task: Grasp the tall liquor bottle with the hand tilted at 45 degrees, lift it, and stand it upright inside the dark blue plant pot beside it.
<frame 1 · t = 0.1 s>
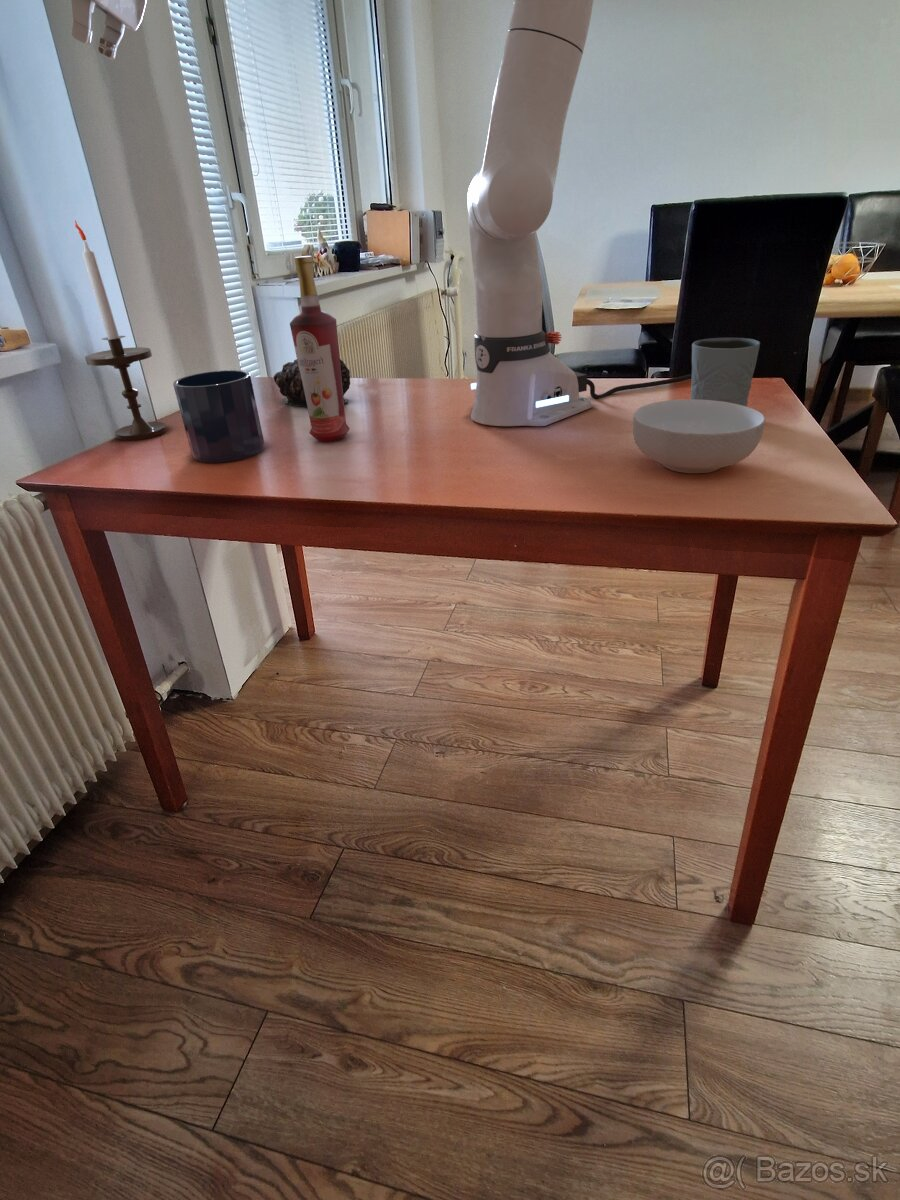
hand: (93, 49, 90), 54 cm above the table, tool tilted 30°, fingers open, 8 cm apart
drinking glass: (715, 418, 112), on the table
dark blue plant pot: (229, 451, 112), on the table
liquor: (331, 439, 115), on the table
cereal bowl: (691, 465, 93), on the table
pine cone: (312, 404, 138), on the table
candlestick: (142, 434, 126), on the table
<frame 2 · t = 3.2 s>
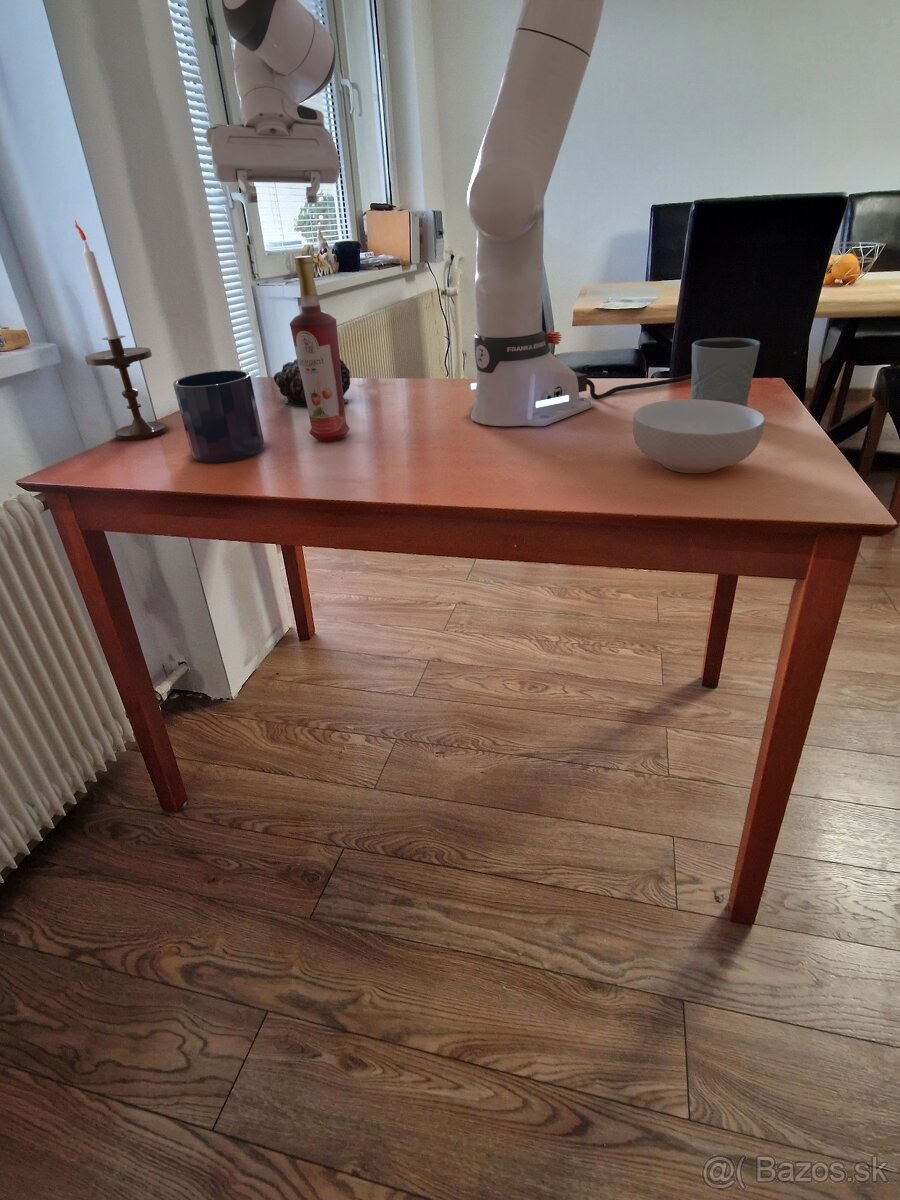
hand: (282, 200, 108), 36 cm above the table, tool tilted 40°, fingers open, 8 cm apart
nothing on the table moved.
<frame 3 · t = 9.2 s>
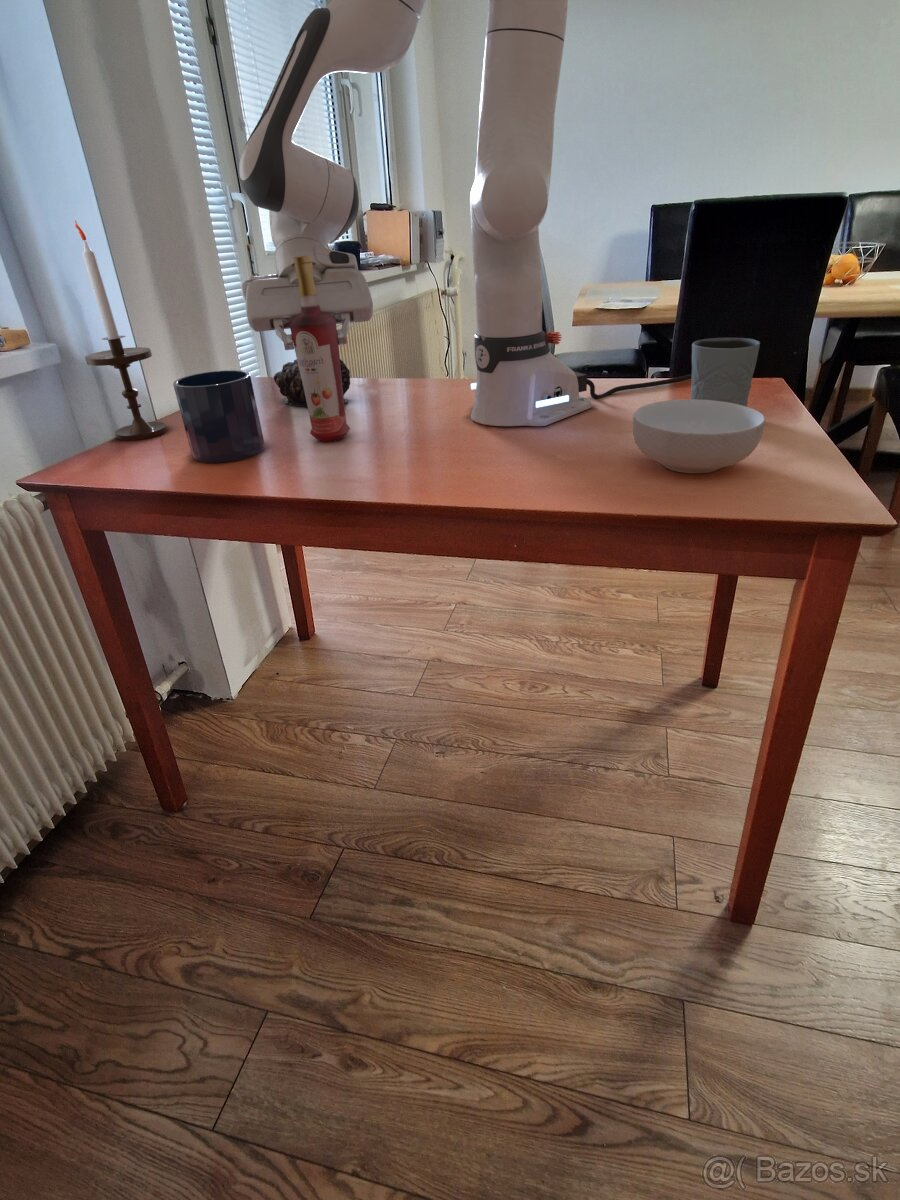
hand: (316, 345, 107), 15 cm above the table, tool tilted 45°, fingers closed on liquor, 7 cm apart
liquor: (331, 439, 115), on the table, touching gripper
everything else where it was.
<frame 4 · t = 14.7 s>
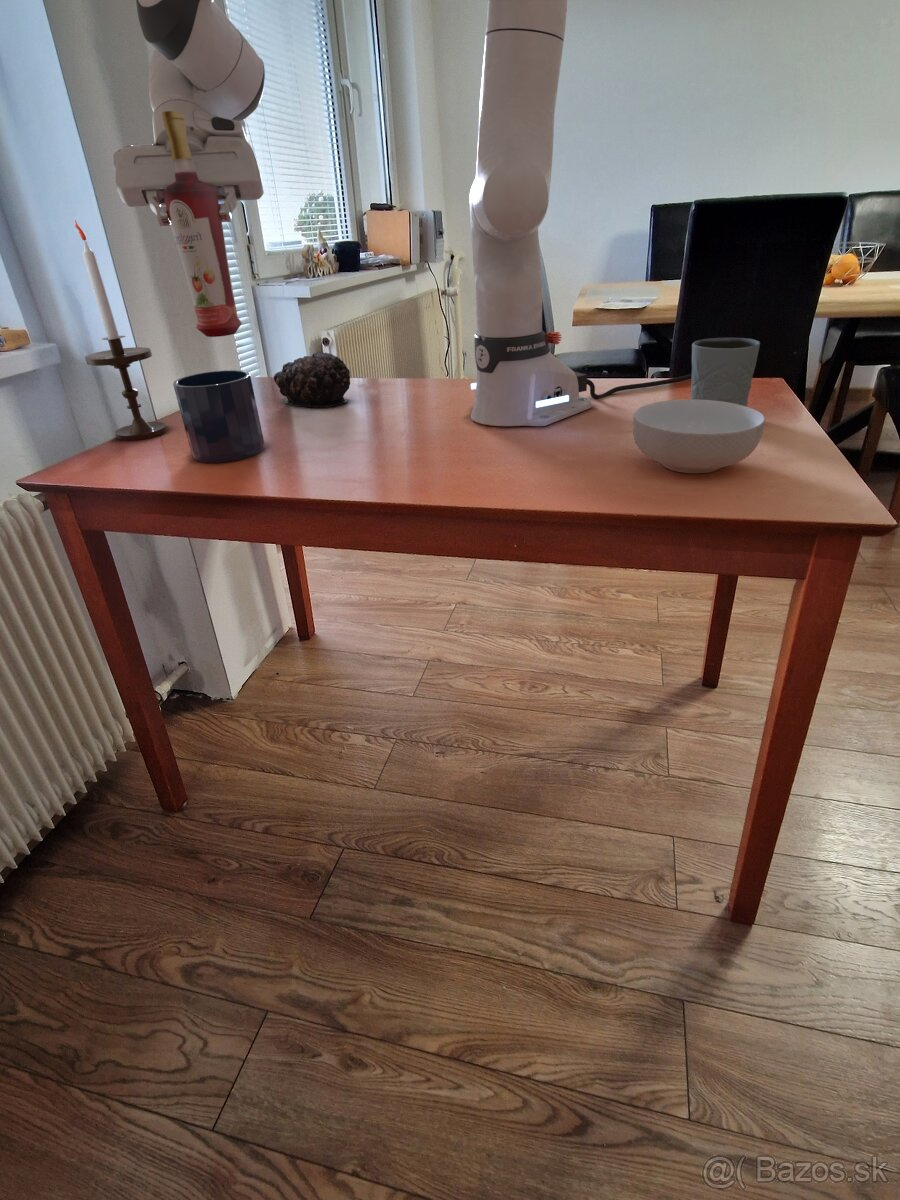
hand: (195, 220, 95), 34 cm above the table, tool tilted 45°, fingers closed on liquor, 7 cm apart
liquor: (221, 335, 104), point 18 cm above the table, touching gripper
everything else where it was.
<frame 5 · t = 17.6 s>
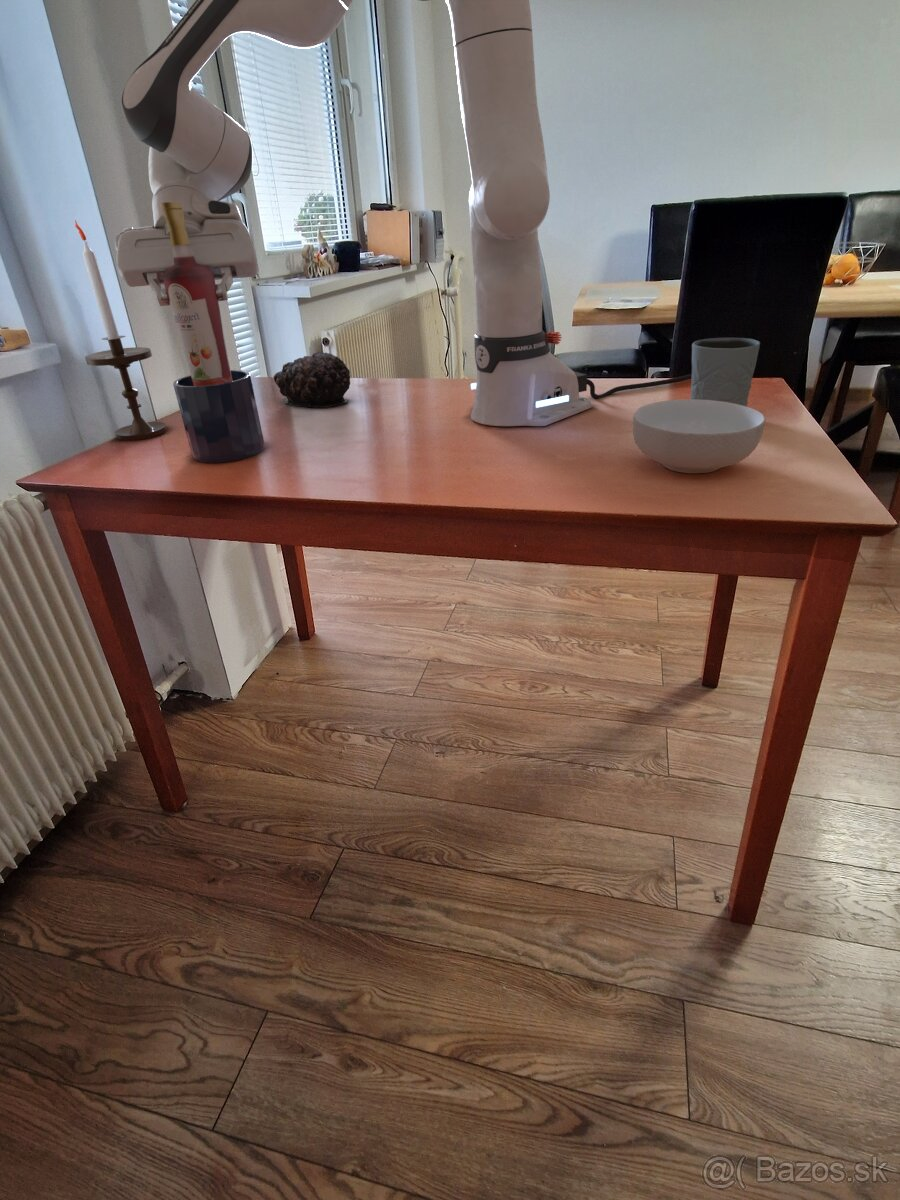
hand: (193, 300, 100), 23 cm above the table, tool tilted 45°, fingers closed on liquor, 7 cm apart
liquor: (218, 404, 108), point 8 cm above the table, touching gripper
everything else where it was.
when the fingers open (16 cm above the table, at t = 20.2 s): liquor stays where it is, resting on dark blue plant pot.
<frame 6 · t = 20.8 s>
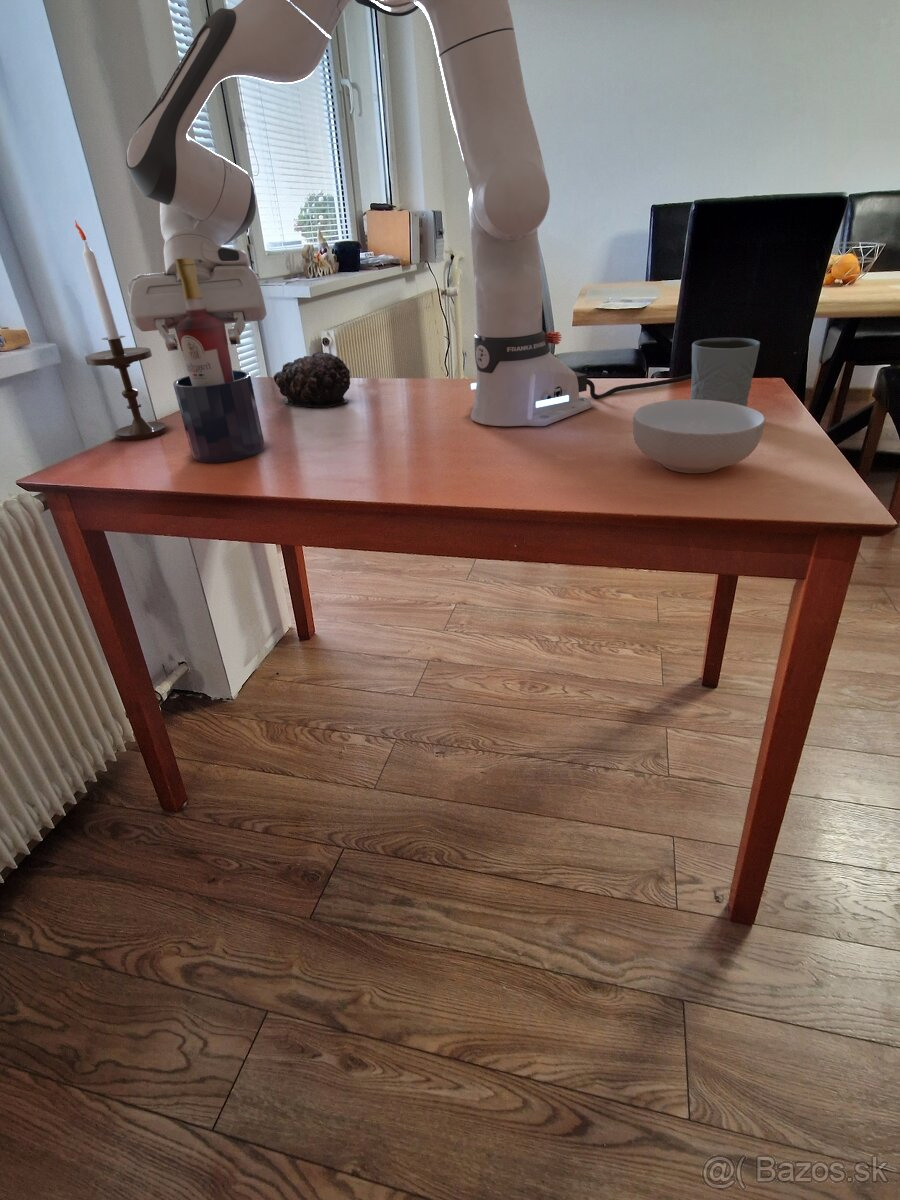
hand: (203, 345, 103), 17 cm above the table, tool tilted 45°, fingers open, 8 cm apart
liquor: (228, 446, 112), point 1 cm above the table, touching dark blue plant pot
everything else where it was.
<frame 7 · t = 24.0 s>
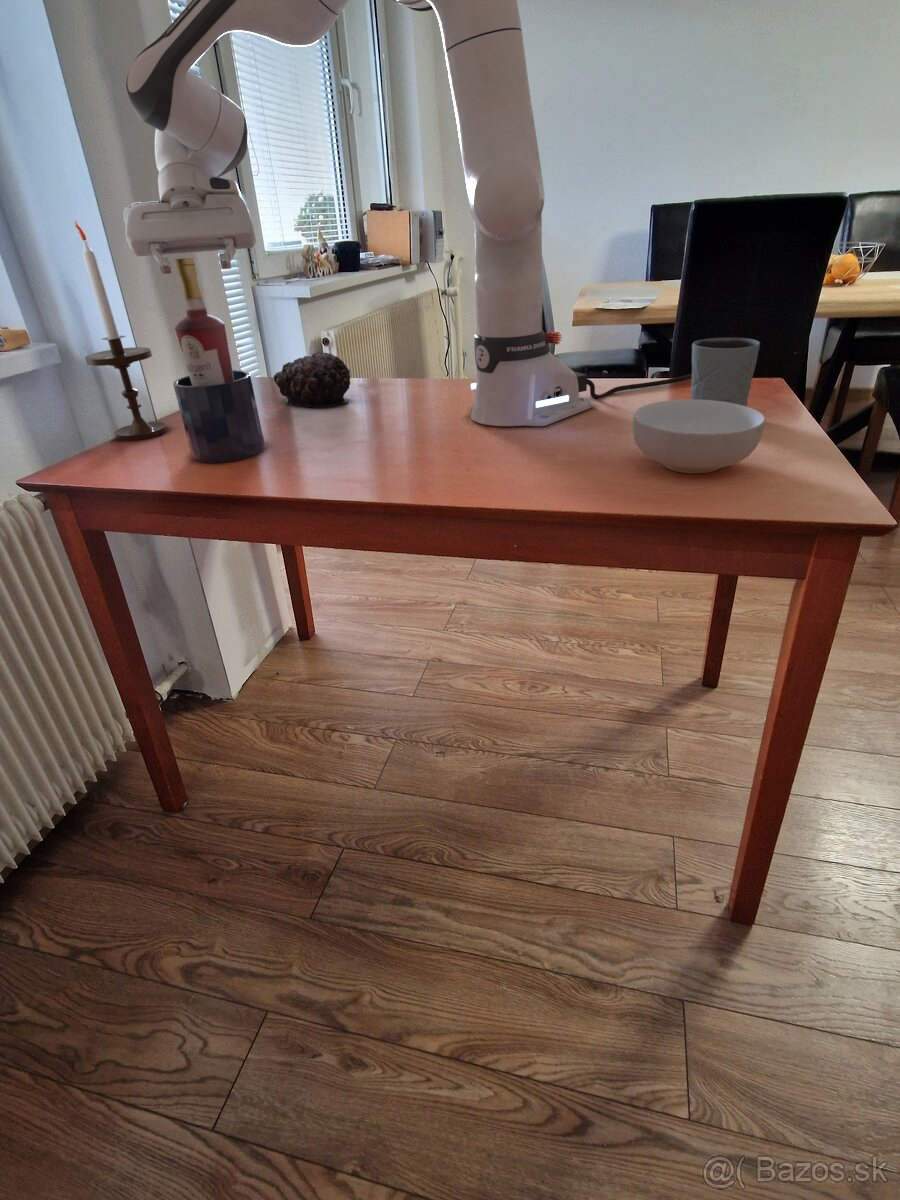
hand: (196, 268, 108), 27 cm above the table, tool tilted 45°, fingers open, 8 cm apart
nothing on the table moved.
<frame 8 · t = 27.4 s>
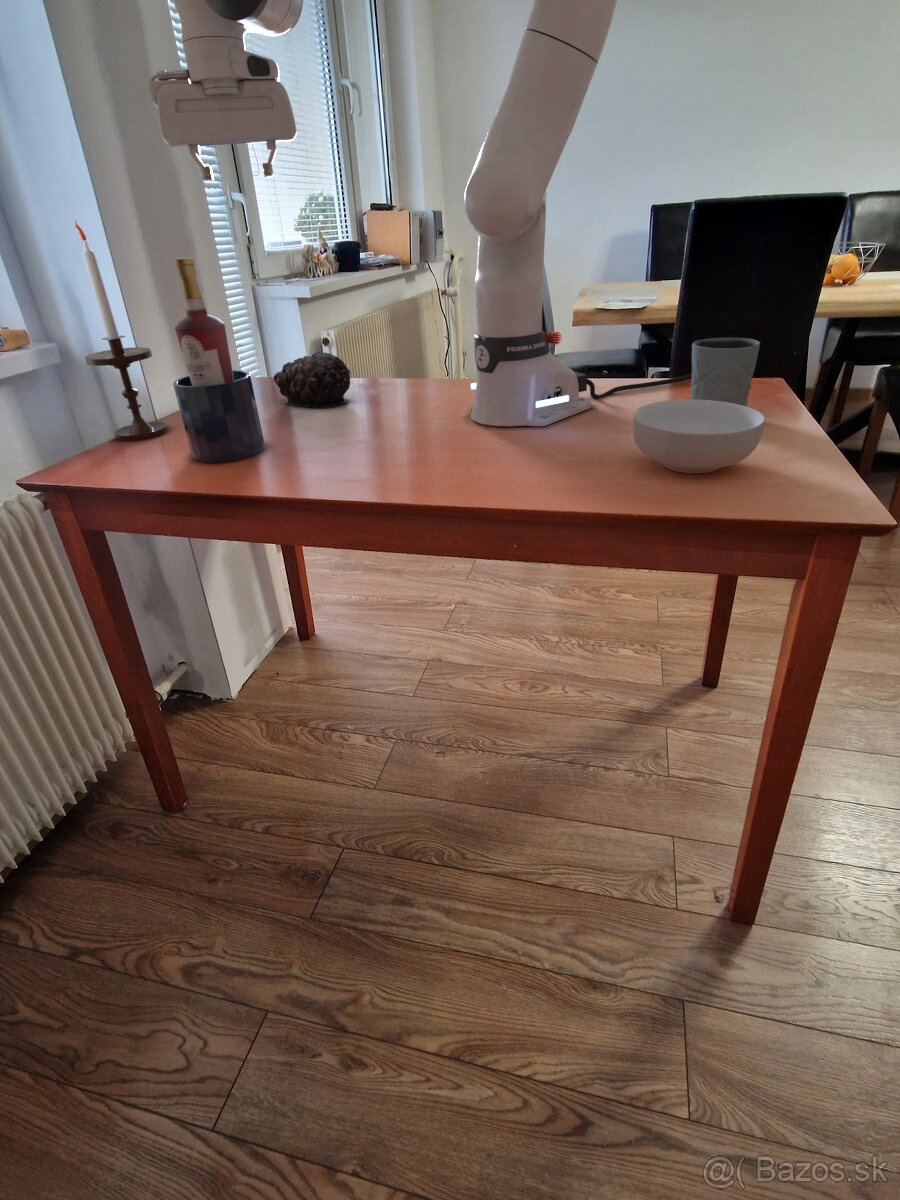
hand: (239, 178, 106), 39 cm above the table, tool pointing down, fingers open, 8 cm apart
nothing on the table moved.
at the end: liquor 0.0 cm off-centre in the dark blue plant pot, point 0.8 cm above the dark blue plant pot's base; liquor tilted 0°; the gripper is holding nothing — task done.
